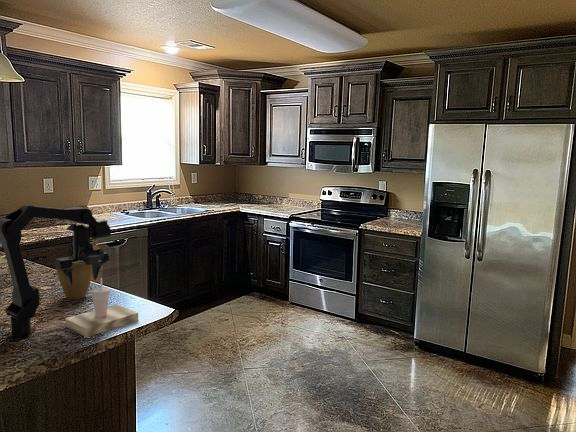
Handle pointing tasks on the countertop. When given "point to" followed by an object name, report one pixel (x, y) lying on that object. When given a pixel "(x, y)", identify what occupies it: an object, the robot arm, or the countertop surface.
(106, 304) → the smoothie
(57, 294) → the countertop surface
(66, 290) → the plant pot
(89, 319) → the plinth
